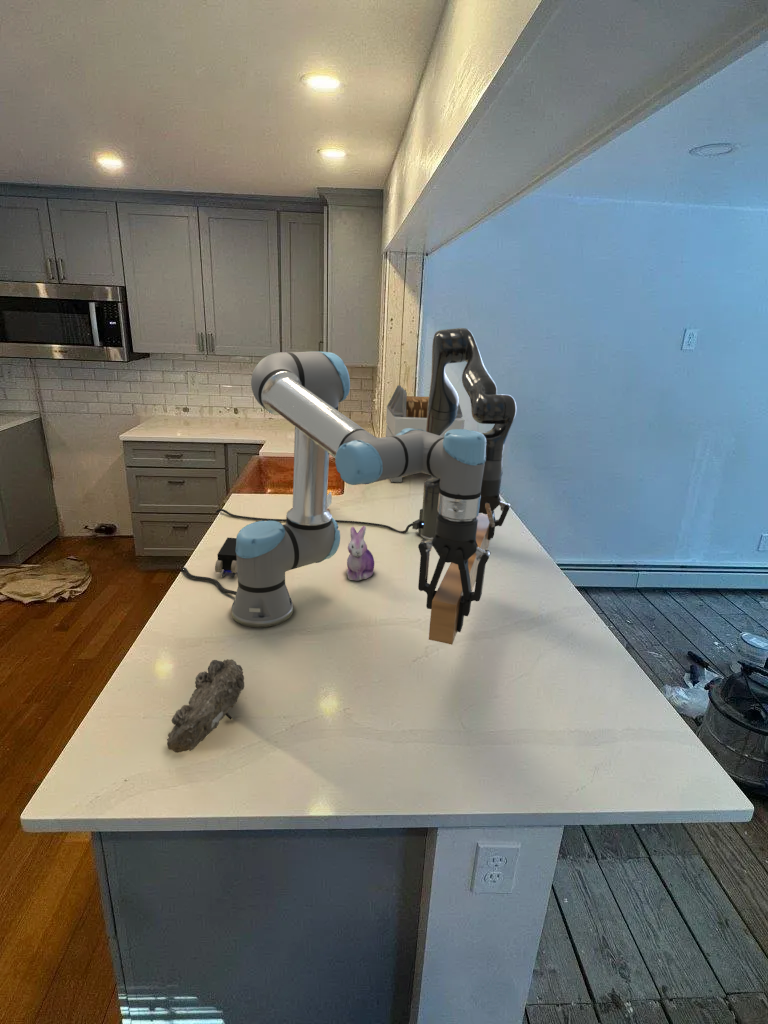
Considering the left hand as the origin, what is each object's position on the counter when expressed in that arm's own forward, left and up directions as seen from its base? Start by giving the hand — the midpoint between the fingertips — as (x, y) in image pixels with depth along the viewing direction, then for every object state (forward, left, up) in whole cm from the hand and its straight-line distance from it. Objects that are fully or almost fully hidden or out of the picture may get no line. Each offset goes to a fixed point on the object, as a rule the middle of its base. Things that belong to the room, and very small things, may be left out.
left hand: (446, 625), depth 112 cm
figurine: (-47, +33, -16) cm, 60 cm away
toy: (-88, +58, -16) cm, 106 cm away
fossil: (-31, -33, -16) cm, 48 cm away
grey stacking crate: (-92, +140, -16) cm, 168 cm away
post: (-6, +20, -1) cm, 21 cm away
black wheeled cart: (-77, +11, -16) cm, 80 cm away
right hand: (-13, +39, +3) cm, 41 cm away
